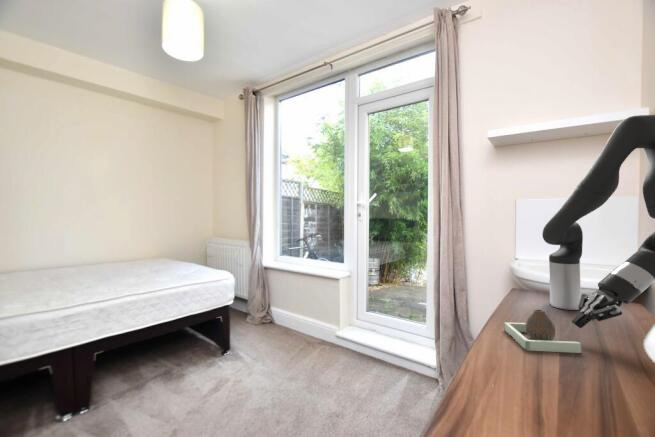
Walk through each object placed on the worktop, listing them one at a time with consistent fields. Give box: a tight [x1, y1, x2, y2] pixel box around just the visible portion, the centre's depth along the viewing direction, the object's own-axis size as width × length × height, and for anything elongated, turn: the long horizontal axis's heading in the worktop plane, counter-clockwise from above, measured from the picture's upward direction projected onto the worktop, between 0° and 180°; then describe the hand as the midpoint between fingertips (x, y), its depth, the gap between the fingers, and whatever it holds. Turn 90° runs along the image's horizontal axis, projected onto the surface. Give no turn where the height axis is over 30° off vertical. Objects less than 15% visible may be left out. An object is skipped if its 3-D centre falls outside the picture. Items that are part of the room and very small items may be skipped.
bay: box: [503, 321, 582, 354], centre depth 84 cm, size 14×13×2 cm
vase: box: [525, 308, 556, 341], centre depth 84 cm, size 7×7×9 cm
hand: (575, 325), depth 82 cm, fingers closed
